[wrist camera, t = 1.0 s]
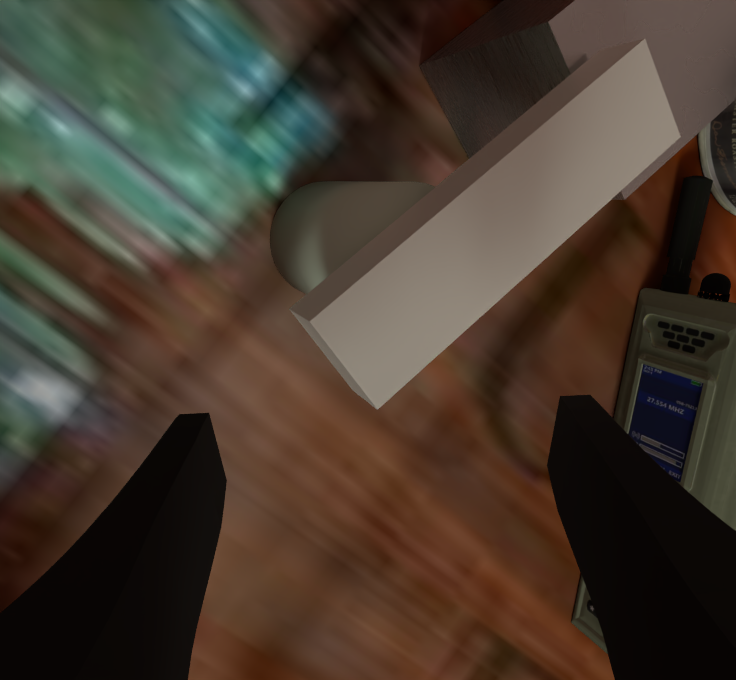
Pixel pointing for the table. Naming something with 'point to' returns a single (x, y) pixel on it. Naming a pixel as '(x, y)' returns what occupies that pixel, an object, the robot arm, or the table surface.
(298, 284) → the plug
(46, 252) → the table surface
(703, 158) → the coffee can
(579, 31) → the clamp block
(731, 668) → the robot arm
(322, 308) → the pale grey rectangular box
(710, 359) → the handheld radio
